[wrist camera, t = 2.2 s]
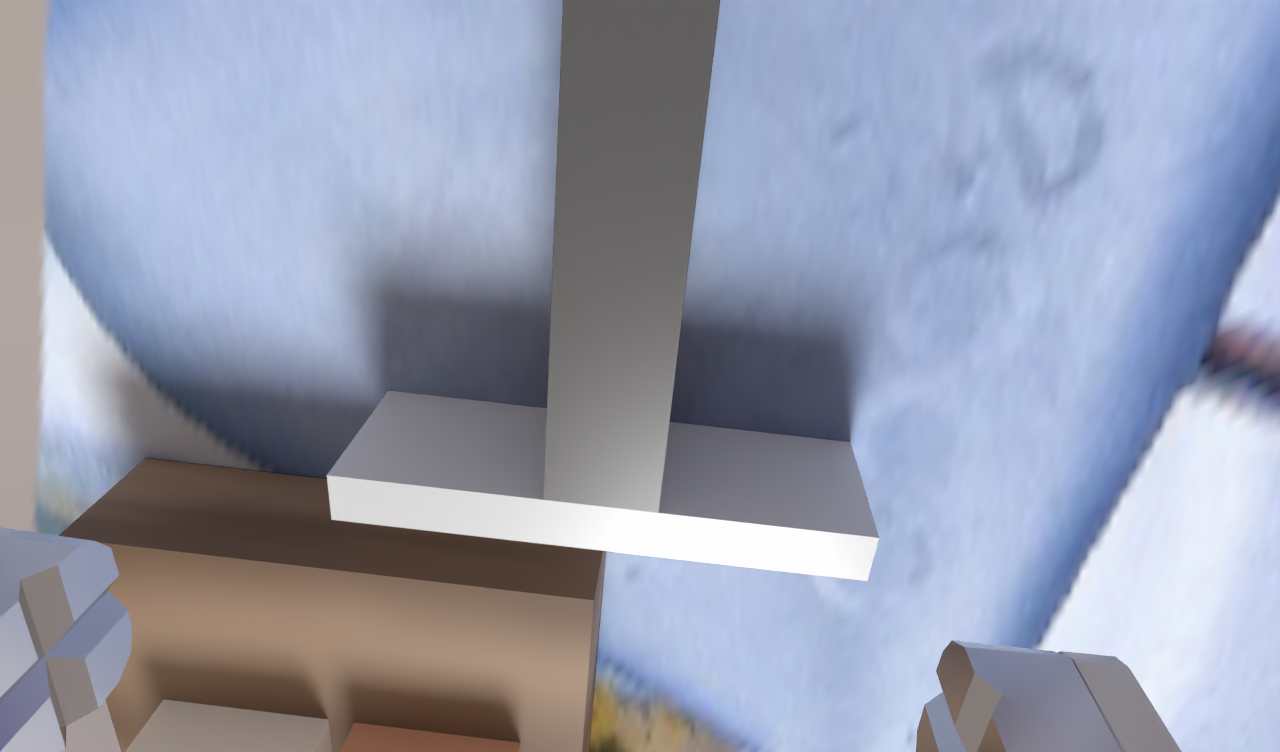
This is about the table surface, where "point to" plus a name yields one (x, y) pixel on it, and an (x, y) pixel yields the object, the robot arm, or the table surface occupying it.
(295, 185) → the table surface
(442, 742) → the terracotta tile
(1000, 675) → the robot arm
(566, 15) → the scraper
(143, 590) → the walnut plate
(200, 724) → the cream tile
